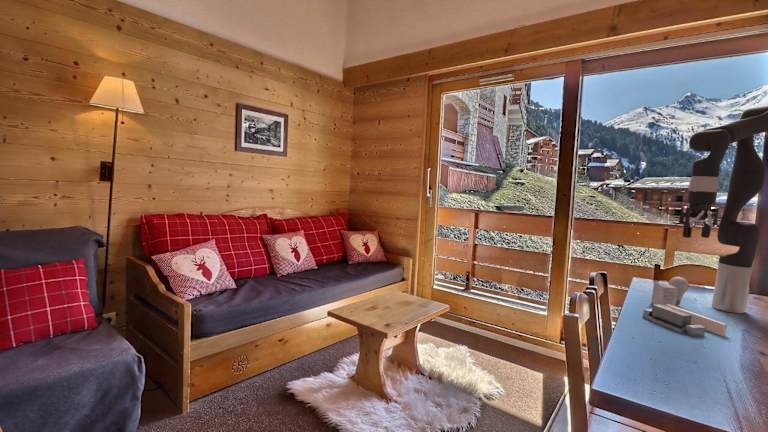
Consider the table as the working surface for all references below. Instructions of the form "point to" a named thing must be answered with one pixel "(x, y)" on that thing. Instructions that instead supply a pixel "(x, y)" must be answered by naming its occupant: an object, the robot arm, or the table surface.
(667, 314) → the lock bar
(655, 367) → the table surface
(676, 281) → the lightbulb
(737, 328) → the table surface
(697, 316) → the door edge
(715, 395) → the table surface
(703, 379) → the table surface
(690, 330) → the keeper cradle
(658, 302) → the medicine box
